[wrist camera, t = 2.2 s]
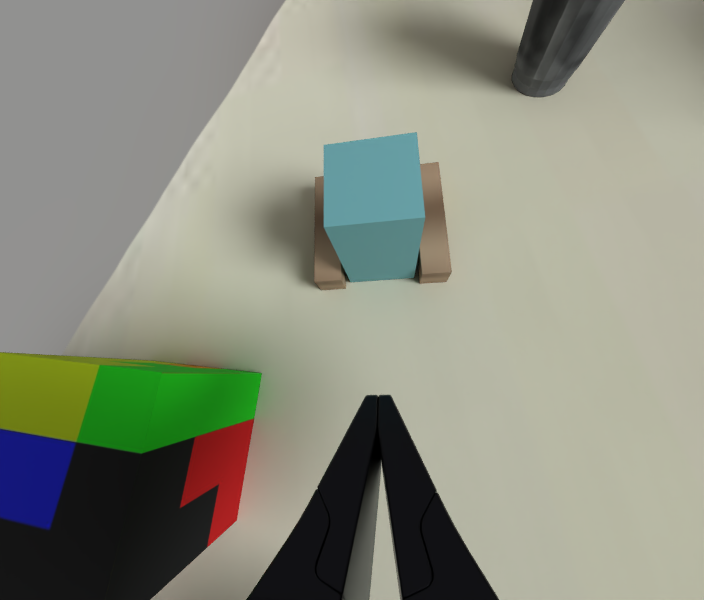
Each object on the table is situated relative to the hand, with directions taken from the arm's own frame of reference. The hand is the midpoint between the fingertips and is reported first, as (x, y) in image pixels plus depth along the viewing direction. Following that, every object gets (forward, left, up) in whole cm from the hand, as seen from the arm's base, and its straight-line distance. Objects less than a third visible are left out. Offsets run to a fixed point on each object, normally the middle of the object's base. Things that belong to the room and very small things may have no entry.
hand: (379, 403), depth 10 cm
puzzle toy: (-14, +6, -12) cm, 20 cm away
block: (+6, +9, -11) cm, 16 cm away
